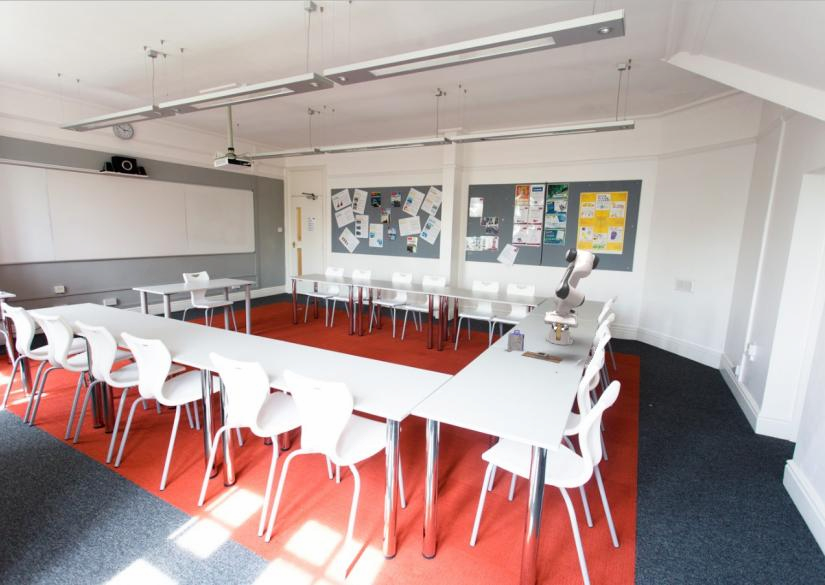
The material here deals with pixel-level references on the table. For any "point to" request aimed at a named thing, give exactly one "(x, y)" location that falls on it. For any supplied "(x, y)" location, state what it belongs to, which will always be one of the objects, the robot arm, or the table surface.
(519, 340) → the ink cartridge box
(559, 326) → the brass copper-topped peg
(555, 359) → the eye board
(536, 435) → the table surface
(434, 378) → the table surface
